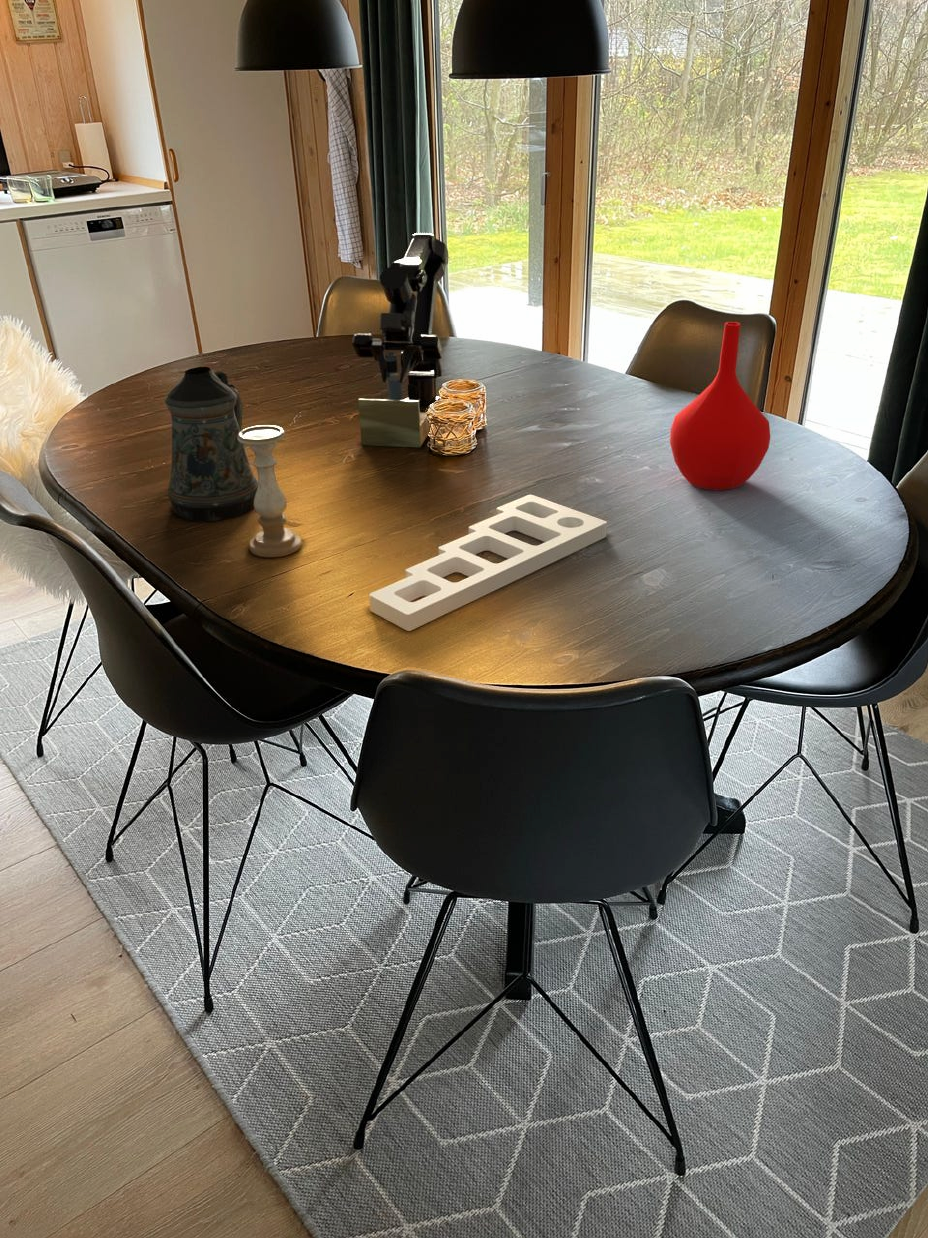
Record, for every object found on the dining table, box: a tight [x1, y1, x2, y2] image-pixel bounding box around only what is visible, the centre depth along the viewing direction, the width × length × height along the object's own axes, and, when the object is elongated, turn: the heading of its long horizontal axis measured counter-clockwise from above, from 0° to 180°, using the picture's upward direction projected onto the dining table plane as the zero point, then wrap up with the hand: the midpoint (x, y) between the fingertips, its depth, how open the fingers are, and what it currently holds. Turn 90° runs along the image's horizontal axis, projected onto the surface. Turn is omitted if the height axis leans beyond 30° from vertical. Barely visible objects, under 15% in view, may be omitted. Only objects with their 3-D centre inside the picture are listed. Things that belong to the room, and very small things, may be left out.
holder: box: [368, 494, 608, 632], centre depth 156 cm, size 45×18×3 cm, turn 134°
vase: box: [669, 321, 771, 491], centre depth 178 cm, size 18×18×30 cm
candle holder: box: [237, 424, 302, 558], centre depth 158 cm, size 9×9×20 cm
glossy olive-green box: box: [357, 398, 430, 448], centre depth 208 cm, size 10×13×10 cm
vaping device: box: [386, 352, 403, 400], centre depth 206 cm, size 3×5×12 cm, turn 14°
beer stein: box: [164, 366, 258, 522], centre depth 175 cm, size 16×19×25 cm
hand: (392, 381), depth 204 cm, fingers closed on vaping device, 3 cm apart
